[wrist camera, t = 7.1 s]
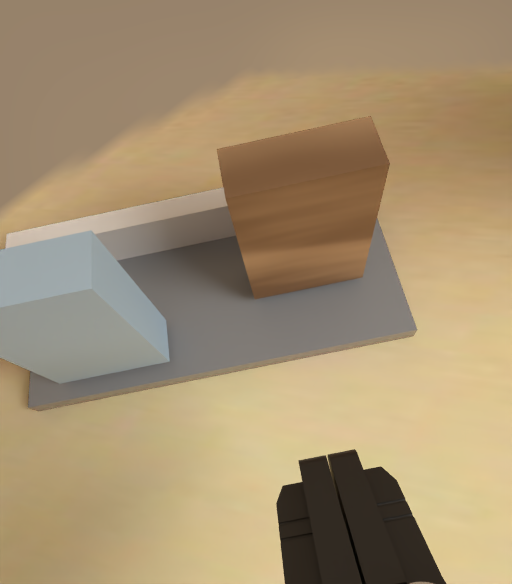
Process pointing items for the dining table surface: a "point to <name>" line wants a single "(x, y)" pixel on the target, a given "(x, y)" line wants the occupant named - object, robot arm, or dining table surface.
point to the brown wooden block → (305, 204)
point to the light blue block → (75, 311)
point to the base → (221, 299)
